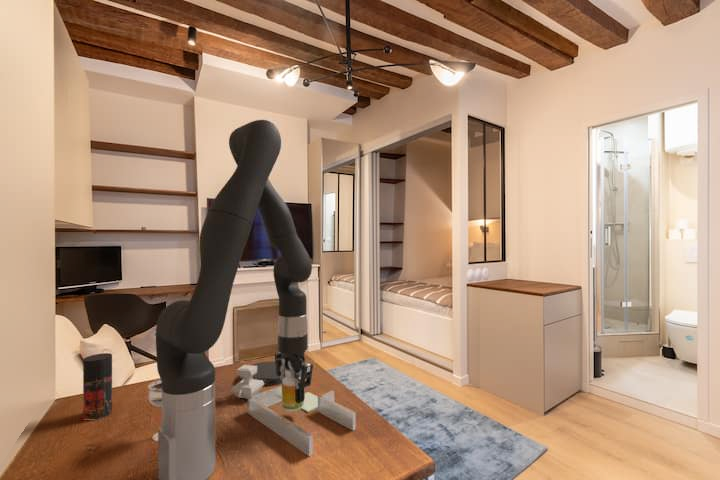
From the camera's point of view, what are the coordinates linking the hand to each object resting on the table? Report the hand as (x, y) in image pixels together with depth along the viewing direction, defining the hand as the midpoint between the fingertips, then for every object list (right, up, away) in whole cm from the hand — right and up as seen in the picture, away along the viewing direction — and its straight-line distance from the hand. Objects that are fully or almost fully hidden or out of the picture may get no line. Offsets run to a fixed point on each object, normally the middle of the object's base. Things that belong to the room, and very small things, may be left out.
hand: (292, 397), depth 86 cm
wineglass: (-28, -5, -8) cm, 30 cm away
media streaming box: (-14, -6, +26) cm, 30 cm away
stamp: (-16, -5, +12) cm, 20 cm away
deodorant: (-51, -5, +2) cm, 52 cm away
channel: (+3, -5, 0) cm, 6 cm away
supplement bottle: (0, -2, 0) cm, 2 cm away
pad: (+3, -5, +8) cm, 10 cm away
